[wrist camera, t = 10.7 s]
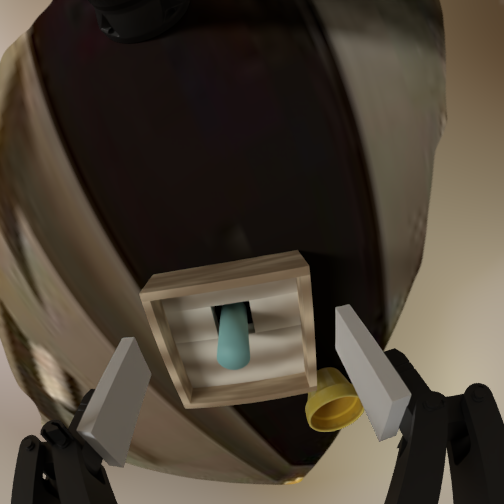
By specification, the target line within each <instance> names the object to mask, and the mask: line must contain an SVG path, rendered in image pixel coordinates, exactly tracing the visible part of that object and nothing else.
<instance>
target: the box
mask: <svg viewBox="0 0 504 504" xmlns="http://www.w3.org/2000/svg"><path fill="white" fill-rule="evenodd" d="M139 295H140V298H141V301H142V304H143V307H144V310H145V313H146V315H147V318H148V321H149V324H150V327H151V329H152V332H153V335H154V337H155V340H156V342H157V345H158V348H159V350H160V352H161V355H162V357H163V360H164V362H165V365H166V367H167V369H168V372H169V374H170V376H171V379H172V381H173V383H174V385H175V387H176V390H177V392H178V394H179V396H180V398H181V400H182V402H183V404H184V406H185V409H190V408H206V407H218V406H228V405H237V404H245V403H252V402H259V401H266V400H272V399H278V398H283V397H289V396H294V395H299V394H303V393H308V392H313V391H317V370H316V349H315V331H314V316H313V303H312V290H311V279H310V268H309V265H308V263H307V262H306V261H305V259H304V258H303V257H302V255H301V254H300V253H299V251H298V250H295V251H290V252H284V253H278V254H272V255H267V256H261V257H255V258H249V259H243V260H237V261H232V262H226V263H220V264H214V265H208V266H202V267H196V268H190V269H184V270H178V271H172V272H166V273H160V274H154V275H153V276H152V277H151V278H150V280H149V281H148V282H147V284H146V285H145V287H144V288H143V289H142V291H141V292H140V293H139ZM243 301H249V303H250V308H251V313H252V319H253V323H250V324H248V333H249V346H250V361H249V363H248V364H247V365H246V366H245V367H244V368H241V369H238V370H230V369H226V368H224V367H222V366H221V365H220V364H219V363H218V361H217V347H218V337H219V323H218V319H217V316H216V312H215V308H214V306H218V305H225V304H231V303H237V302H243Z"/></svg>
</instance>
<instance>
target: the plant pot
mask: <svg viewBox="0 0 504 504" xmlns="http://www.w3.org/2000/svg"><path fill="white" fill-rule="evenodd" d="M305 410H306V416H307V420H308V423H309V425H310V427H311V428H313V429H314V430H316V431H321V432H330V431H335V430H339V429H342V428H344V427H346V426H348V425H350V424H352V423H353V422H355V421H356V420H357V419H358V418H359V417H360V416H361V415H362V414H363V412H364V410H365V409H364V407H363V405H362V403H361V401H360V399H359V396H358V394H357V392H356V390H355V388H354V386H353V384H350V382H349V381H348V380H347V379H346V378H345V377H344V376H343V375H342V374H341V372H340V371H339V370H337V369H335V368H332V367H327V368H322V369H320V370H318V371H317V391H313V392H308V402H307V404H306V407H305Z"/></svg>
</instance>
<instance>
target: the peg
mask: <svg viewBox="0 0 504 504" xmlns="http://www.w3.org/2000/svg"><path fill="white" fill-rule="evenodd" d="M217 361H218V363H219V364H220V365H221V366H222V367H224V368H226V369H230V370H238V369H241V368H244V367H245V366H246V365H247V364H248V363H249V361H250V346H249V333H248V320H247V308H246V306H245V304H244V303H243V302H237V303H231V304H225V305H222V308H221V317H220V327H219V337H218V347H217Z"/></svg>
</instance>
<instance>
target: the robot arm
mask: <svg viewBox="0 0 504 504" xmlns="http://www.w3.org/2000/svg"><path fill="white" fill-rule="evenodd" d="M88 1H89V2H90V3H91V4H92V5H93V6H94V7H95V12H96V17H97V21H98V25H99V27H100V29H101V31H102V32H103V33H104V34H105V35H106V36H107V37H108V38H110V39H111V40H113V41H115V42H119V43H137V42H142V41H145V40H148V39H151V38H153V37H156V36H158V35H160V34H162V33H163V32H165V31H167V30H168V29H170V28H171V27H172V26H173V25H175V24H176V23H177V22H178V21H179V20H180V19H181V18H182V16H183V15H184V14H185V12H186V11H187V9H188V6H189V3H190V0H88ZM335 313H336V343H335V349H336V351H337V353H338V355H339V357H340V359H341V361H342V363H343V365H344V367H345V369H346V371H347V373H348V375H349V378H350V380H351V382H352V384H353V386H354V388H355V390H356V392H357V394H358V396H359V399H360V401H361V403H362V405H363V407H364V409H365V411H366V413H367V416H368V418H369V420H370V422H371V424H372V427H373V429H374V431H375V433H376V436H377V438H378V440H379V442H380V441H383V440H385V439H388V438H391V437H393V436H396V434H397V432H398V429H400V431H401V433H402V434H403V436H402V438H401V440H400V442H399V444H398V447H397V448H399V452H398V456H397V461H396V465H395V469H394V473H393V476H392V480H391V483H390V487H389V490H388V494H387V497H386V500H385V503H384V504H438V501H439V496H440V490H441V484H442V479H443V472H444V465H445V456H446V447H447V453H448V458H449V465H450V473H451V480H452V490H453V503H454V504H504V423H503V420H502V418H501V415H500V412H499V409H498V407H497V404H496V402H495V399H494V397H493V394H492V392H491V390H490V389H489V387H487V386H486V385H484V384H481V383H474V384H472V385H470V386H469V387H468V388H467V389H466V391H465V393H464V394H460V395H455V396H449V397H445V396H444V395H443V394H441V393H439V392H434V391H431V390H430V389H429V387H428V386H427V384H426V383H425V382H424V380H423V379H422V378H421V376H420V375H419V374H418V372H417V371H416V369H414V367H413V365H412V364H411V363H410V362H409V360H408V359H407V357H406V356H405V355H404V354H403V353H402V352H400V351H398V350H397V349H395V348H394V349H391V350H388V351H385V352H383V351H382V350H381V348H380V347H379V345H378V344H377V342H376V341H375V339H374V338H373V337H372V335H371V334H370V332H369V331H368V330H367V328H366V327H365V325H364V324H363V323H362V321H361V320H360V318H359V317H358V316H357V314H356V313H355V311H354V310H353V309H352V307H351V306H350V305H349V304H348V305H344V306H340V307H335ZM150 377H151V372H150V370H149V368H148V366H147V364H146V362H145V360H144V358H143V355H142V353H141V351H140V349H139V347H138V344H137V342H136V340H135V337H129V338H122V340H121V342H120V343H119V345H118V347H117V349H116V351H115V353H114V355H113V356H112V358H111V360H110V362H109V364H108V366H107V368H106V370H105V372H104V374H103V375H102V377H101V379H100V381H99V383H98V385H97V387H96V389H91V390H90V391H89V392H88V393H87V394H86V395H85V396H84V397H83V399H82V401H81V405H79V407H78V411H76V414H75V416H74V418H73V420H72V422H71V424H70V426H69V428H68V429H67V428H66V427H65V426H64V424H63V423H62V422H61V421H59V420H51V421H49V422H47V423H46V424H45V425H44V426H43V427H42V429H41V435H42V436H43V438H44V439H45V440H46V441H47V442H41V441H40V440H39V439H38V438H37V437H36V436H34V435H29V436H27V437H25V438H24V439H23V440H22V442H21V444H20V448H19V453H18V457H17V463H16V468H15V475H14V481H13V489H12V498H11V504H117V501H116V499H115V496H114V493H113V491H112V488H111V486H110V483H109V480H108V477H107V474H106V471H105V469H104V467H103V466H102V465H101V463H102V460H103V459H104V460H105V461H106V462H107V463H108V464H109V465H111V466H117V467H124V464H125V460H126V457H127V453H128V449H129V446H130V442H131V439H132V435H133V432H134V428H135V425H136V422H137V418H138V415H139V412H140V408H141V405H142V402H143V399H144V396H145V392H146V389H147V386H148V383H149V380H150ZM43 473H44V474H45V475H46V479H43V478H42V477H43Z"/></svg>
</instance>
